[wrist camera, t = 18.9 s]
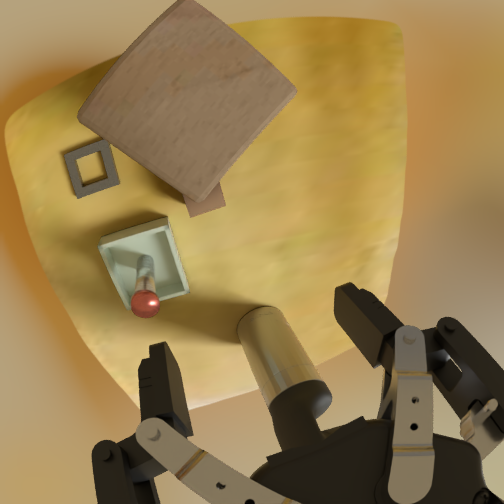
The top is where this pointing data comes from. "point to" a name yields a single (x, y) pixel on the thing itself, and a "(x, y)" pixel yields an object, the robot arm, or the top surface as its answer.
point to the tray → (144, 243)
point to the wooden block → (187, 99)
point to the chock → (206, 202)
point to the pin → (145, 289)
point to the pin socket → (108, 163)
